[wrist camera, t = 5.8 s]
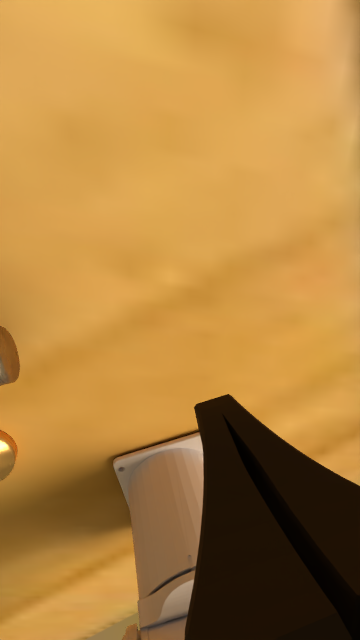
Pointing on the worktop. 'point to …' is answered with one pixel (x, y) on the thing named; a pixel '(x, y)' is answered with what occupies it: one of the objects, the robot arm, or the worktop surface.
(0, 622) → the worktop surface
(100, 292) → the worktop surface
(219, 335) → the worktop surface
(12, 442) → the spacer
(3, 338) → the shaft
